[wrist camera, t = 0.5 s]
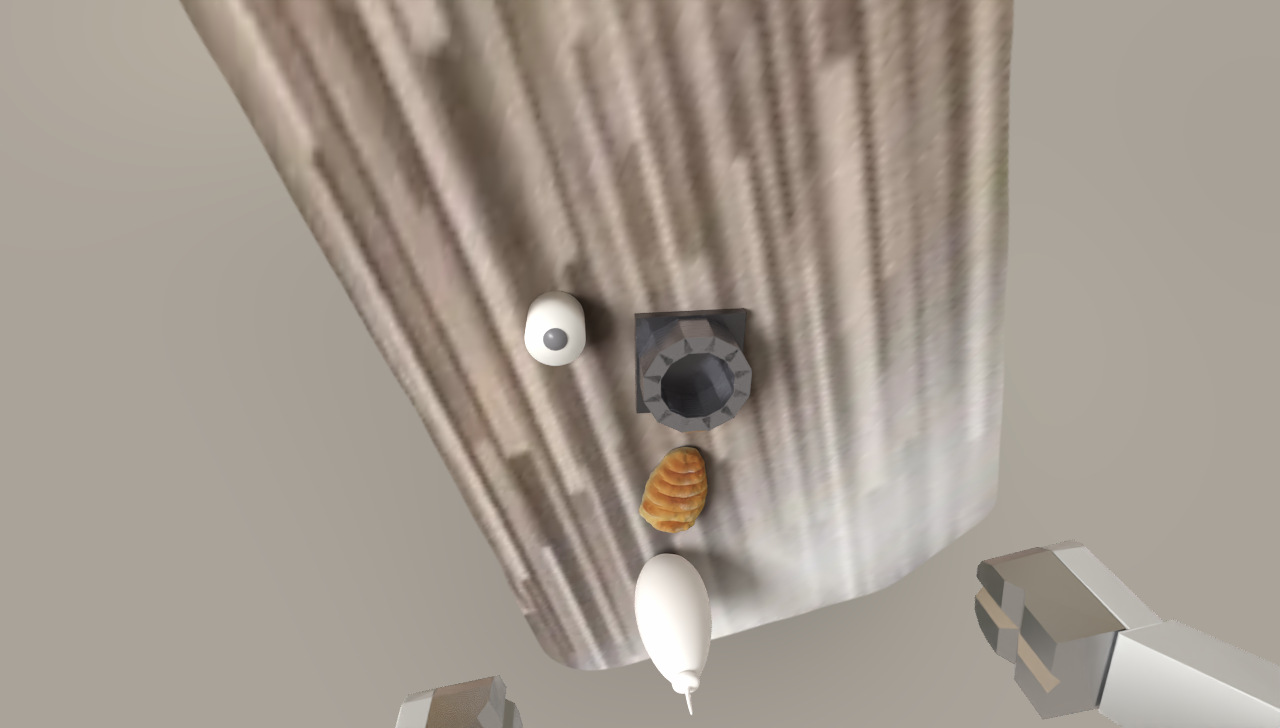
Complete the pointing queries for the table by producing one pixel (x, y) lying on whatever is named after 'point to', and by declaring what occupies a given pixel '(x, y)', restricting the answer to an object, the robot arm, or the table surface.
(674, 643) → the white air blower bulb
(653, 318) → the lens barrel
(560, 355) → the cylinder with grey knob
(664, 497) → the pastry
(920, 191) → the table surface
